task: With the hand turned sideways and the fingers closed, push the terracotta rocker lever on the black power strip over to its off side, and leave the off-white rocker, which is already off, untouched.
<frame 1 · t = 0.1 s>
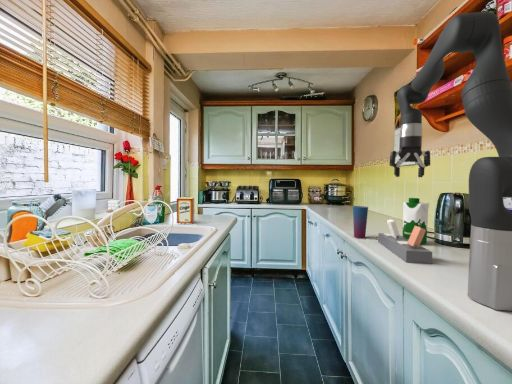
hand: (408, 177, 100), 29 cm above the countertop, tool pointing down, fingers open, 8 cm apart
rocker terracotta: (416, 236, 88), point 8 cm above the countertop, hinge at 20.0°
milk carton: (414, 242, 112), on the countertop
power strip: (401, 251, 98), on the countertop
cup: (359, 237, 121), on the countertop
baking soda box: (185, 223, 157), on the countertop
rocker offwhite: (393, 228, 102), point 8 cm above the countertop, hinge at -20.0°
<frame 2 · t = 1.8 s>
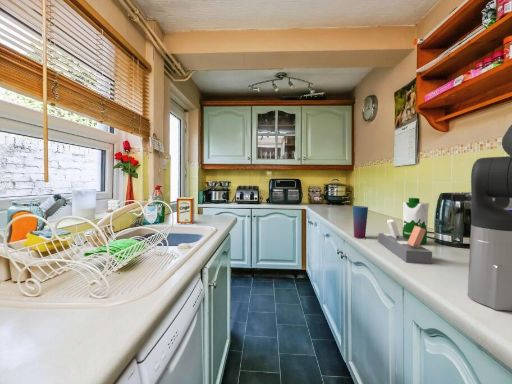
hand: (446, 197, 86), 22 cm above the countertop, tool horizontal, fingers open, 5 cm apart
nothing on the countertop moved.
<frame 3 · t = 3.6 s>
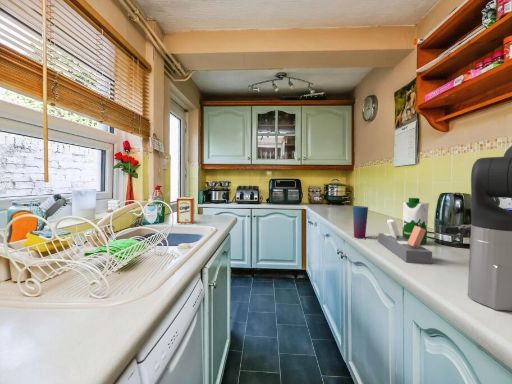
hand: (444, 230, 87), 11 cm above the countertop, tool horizontal, fingers closed
nothing on the countertop moved.
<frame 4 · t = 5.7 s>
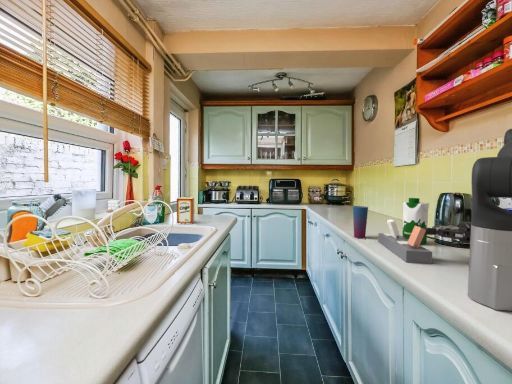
hand: (422, 231, 88), 10 cm above the countertop, tool horizontal, fingers closed
rocker terracotta: (416, 236, 88), point 8 cm above the countertop, hinge at 20.0°, touching gripper
everything else where it was.
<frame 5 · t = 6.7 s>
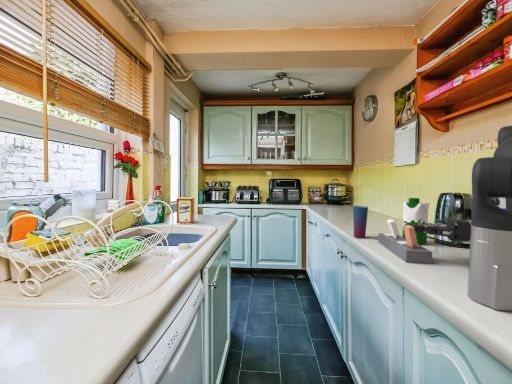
hand: (411, 228, 88), 11 cm above the countertop, tool horizontal, fingers closed
rocker terracotta: (410, 236, 89), point 8 cm above the countertop, hinge at -12.5°, touching gripper
everything else where it was.
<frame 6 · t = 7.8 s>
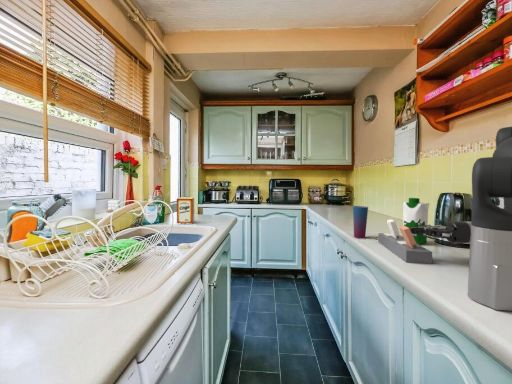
hand: (410, 230, 88), 10 cm above the countertop, tool horizontal, fingers closed
rocker terracotta: (408, 236, 89), point 8 cm above the countertop, hinge at -25.2°
everything else where it was.
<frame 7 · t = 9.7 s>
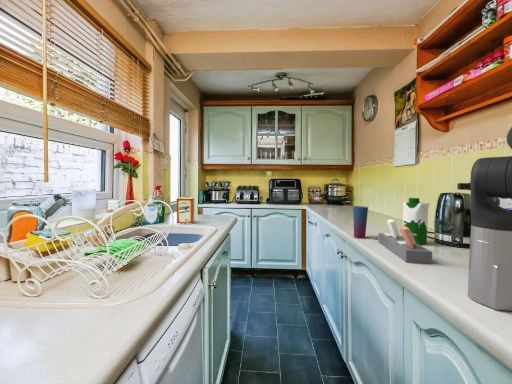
hand: (459, 186, 84), 26 cm above the countertop, tool horizontal, fingers closed
rocker terracotta: (408, 236, 89), point 8 cm above the countertop, hinge at -25.6°
everything else where it was.
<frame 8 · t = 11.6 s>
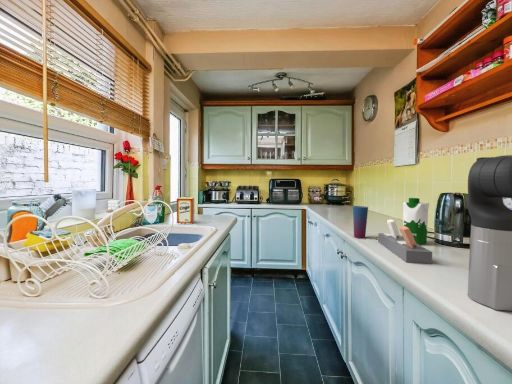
hand: (478, 161, 78), 34 cm above the countertop, tool horizontal, fingers closed
nothing on the countertop moved.
at the end: rocker terracotta at -26° (first picture: +20°); rocker offwhite at -20° (first picture: -20°) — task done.
